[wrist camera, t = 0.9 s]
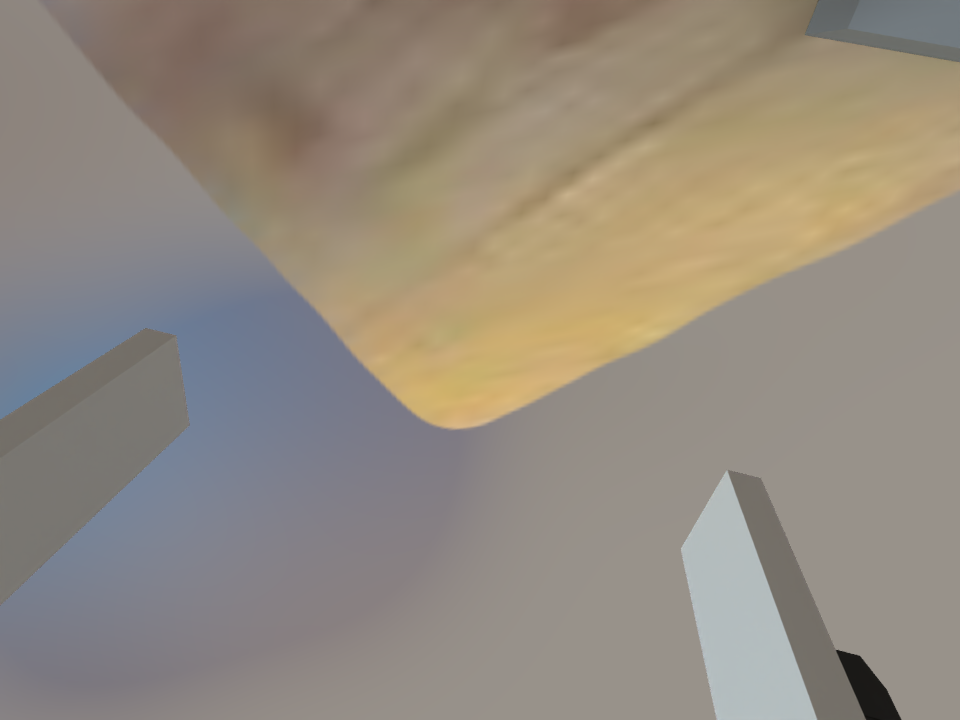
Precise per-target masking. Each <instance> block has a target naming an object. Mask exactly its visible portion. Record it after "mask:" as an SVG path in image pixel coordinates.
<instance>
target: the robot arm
mask: <svg viewBox="0 0 960 720" xmlns="http://www.w3.org/2000/svg"><path fill="white" fill-rule="evenodd" d="M189 425H190V424H189V417H188V411H187V405H186V398H185V391H184V384H183V378H182V371H181V365H180V358H179V351H178V344H177V338H176V335H172V334H168V333H163V332H160V331H155V330H151V329H147V328H145V329H143V330H142V331H140V332H139V333H137V334H136V335H134V336H132V337H131V338H129V339H128V340H126V341H124V342H123V343H121V344H120V345H118V346H116V347H115V348H113V349H112V350H110V351H109V352H107V353H105V354H104V355H102V356H101V357H99V358H97V359H96V360H94V361H93V362H91V363H90V364H88V365H86V366H85V367H83V368H82V369H80V370H78V371H77V372H75V373H74V374H72V375H70V376H69V377H67V378H66V379H64V380H62V381H61V382H60V383H58V384H56V385H55V386H53V387H51V388H50V389H48V390H47V391H45V392H43V393H42V394H40V395H39V396H37V397H36V398H34V399H32V400H31V401H29V402H28V403H26V404H24V405H23V406H21V407H20V408H18V409H17V410H15V411H13V412H12V413H10V414H9V415H7V416H5V417H4V418H2V419H1V420H0V605H1V604H2V603H3V602H4V601H5V600H6V599H8V598H9V597H10V596H11V595H12V594H13V593H14V592H15V591H16V590H17V589H18V588H19V587H20V586H21V585H22V584H23V583H24V582H25V581H26V580H28V579H29V578H30V577H31V576H32V575H33V574H34V573H35V572H36V571H37V570H38V569H39V568H40V567H41V566H42V565H43V564H44V563H45V562H46V561H47V560H48V559H50V558H51V557H52V556H53V555H54V554H55V553H56V552H57V551H58V550H59V549H60V548H61V547H62V546H63V545H64V544H65V543H66V542H67V541H68V540H70V539H71V538H72V536H74V535H75V534H76V533H77V532H78V531H79V530H80V529H81V528H82V527H83V526H84V525H85V524H86V523H87V522H88V521H89V520H91V519H92V518H93V517H94V516H95V515H96V514H97V513H98V512H99V511H100V510H101V509H102V508H103V507H104V506H105V505H106V504H107V503H108V502H110V501H111V499H112V498H114V497H115V496H116V495H117V494H118V493H119V492H120V491H121V490H122V489H123V488H124V487H125V486H126V485H127V484H128V483H129V482H130V481H131V480H133V479H134V478H135V477H136V476H137V475H138V474H139V473H140V472H141V471H142V470H143V469H144V468H145V467H146V466H147V465H148V464H149V463H150V462H151V461H152V460H154V459H155V458H156V456H158V455H159V454H160V453H161V452H162V451H163V450H164V449H165V448H166V447H167V446H168V445H169V444H170V443H171V442H172V441H174V440H175V439H176V438H177V437H178V436H179V435H180V434H181V433H182V432H183V431H184V430H185V429H186V428H187V427H188V426H189ZM681 552H682V556H683V562H684V566H685V571H686V576H687V580H688V585H689V590H690V595H691V599H692V604H693V609H694V613H695V619H696V623H697V628H698V633H699V638H700V643H701V647H702V652H703V657H704V661H705V666H706V671H707V676H708V681H709V685H710V690H711V695H712V700H713V704H714V709H715V714H716V719H717V720H901V718H900V716H899V714H898V712H897V710H896V708H895V706H894V704H893V702H892V700H891V697H890V695H889V693H888V691H887V689H886V688H885V687H884V686H883V684H882V683H881V682H880V681H879V679H878V678H877V677H876V676H875V674H874V673H873V672H872V671H871V669H870V668H869V667H868V666H867V664H866V663H865V662H864V660H863V659H862V658H861V657H860V656H858V655H854V654H850V653H846V652H843V651H839V650H835V648H834V645H833V643H832V641H831V638H830V636H829V634H828V632H827V629H826V627H825V625H824V622H823V620H822V618H821V615H820V613H819V611H818V608H817V606H816V604H815V601H814V599H813V597H812V595H811V592H810V590H809V588H808V585H807V583H806V581H805V578H804V576H803V574H802V572H801V569H800V567H799V565H798V562H797V560H796V558H795V556H794V553H793V551H792V549H791V546H790V544H789V542H788V539H787V537H786V535H785V532H784V530H783V528H782V526H781V523H780V521H779V519H778V516H777V514H776V512H775V509H774V507H773V505H772V503H771V500H770V498H769V496H768V493H767V491H766V489H765V486H764V484H763V482H762V480H761V478H758V477H754V476H749V475H746V474H742V473H738V472H733V471H729V470H727V471H726V473H725V474H724V476H723V478H722V480H721V481H720V483H719V485H718V486H717V488H716V490H715V492H714V493H713V495H712V497H711V498H710V500H709V502H708V503H707V505H706V507H705V509H704V510H703V512H702V514H701V516H700V517H699V519H698V521H697V522H696V524H695V526H694V527H693V529H692V531H691V533H690V534H689V536H688V538H687V540H686V541H685V543H684V545H683V546H682V548H681Z"/></svg>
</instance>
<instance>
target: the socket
mask: <svg viewBox="0 0 960 720" xmlns="http://www.w3.org/2000/svg"><path fill="white" fill-rule="evenodd" d="M805 35H808V36H814V37H820V38H825V39H831V40H837V41H842V42H848V43H854V44H860V45H865V46H871V47H877V48H882V49H888V50H894V51H899V52H905V53H911V54H917V55H922V56H928V57H934V58H939V59H945V60H951V61H956V62H960V0H819V1H818V4H817V6H816V9H815V11H814V13H813V16H812V18H811V21H810V23H809V26H808V28H807V31H806V33H805Z"/></svg>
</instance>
